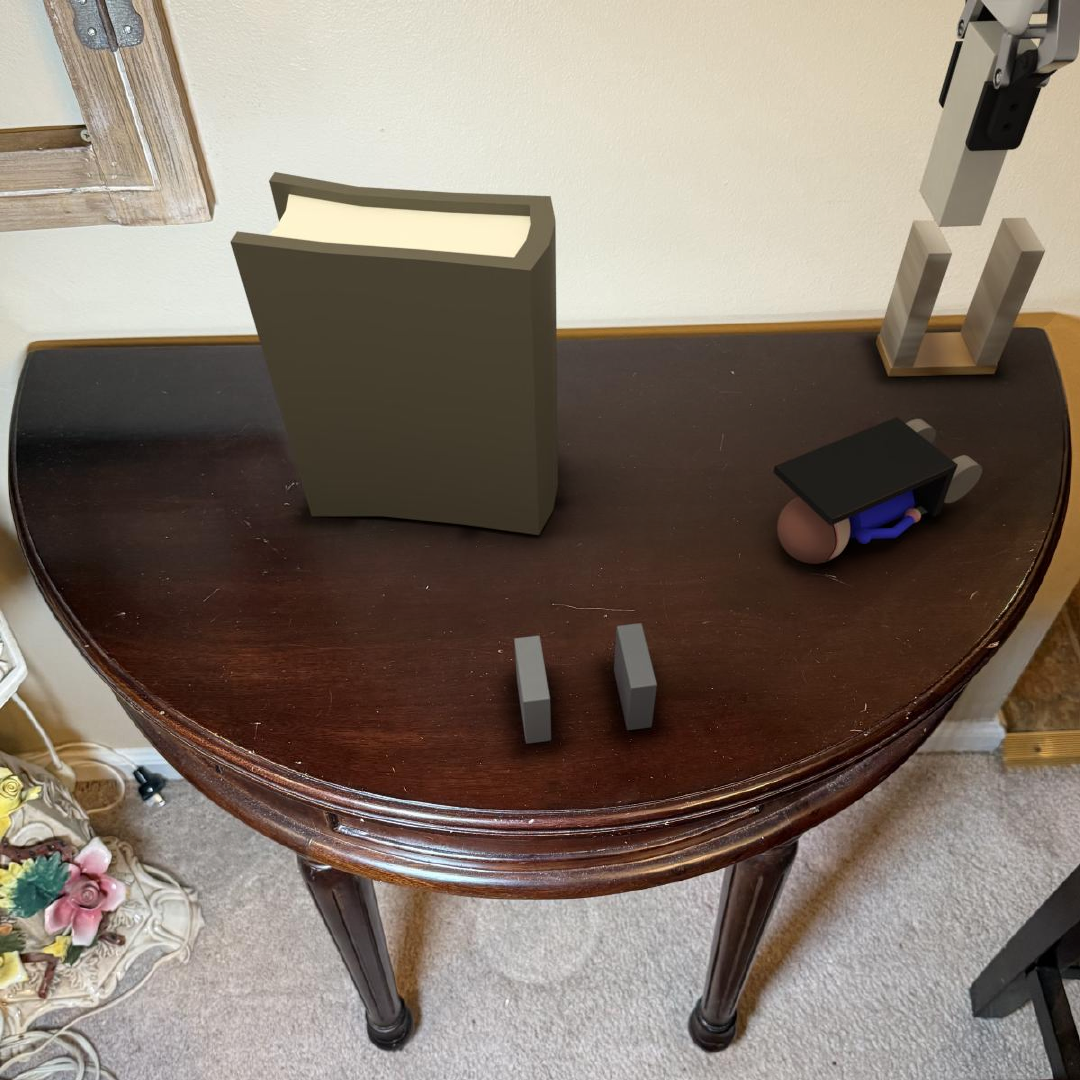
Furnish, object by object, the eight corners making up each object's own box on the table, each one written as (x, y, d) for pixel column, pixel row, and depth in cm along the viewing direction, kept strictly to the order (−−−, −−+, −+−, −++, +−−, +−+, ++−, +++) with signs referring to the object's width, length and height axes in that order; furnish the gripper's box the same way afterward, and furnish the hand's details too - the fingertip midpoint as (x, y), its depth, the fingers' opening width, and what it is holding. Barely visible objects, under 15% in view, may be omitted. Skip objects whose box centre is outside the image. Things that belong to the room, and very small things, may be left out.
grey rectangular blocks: (637, 666, 64) (641, 622, 61) (651, 727, 61) (657, 684, 58) (517, 681, 64) (513, 638, 60) (525, 744, 61) (523, 702, 57)
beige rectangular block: (959, 189, 67) (1015, 19, 58) (981, 225, 64) (1043, 52, 55) (918, 190, 67) (968, 21, 58) (938, 227, 64) (994, 54, 55)
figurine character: (895, 473, 77) (748, 532, 71) (930, 397, 72) (774, 454, 66) (958, 527, 73) (808, 595, 67) (1000, 451, 68) (841, 517, 62)
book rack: (977, 340, 86) (1026, 217, 77) (994, 374, 83) (1047, 250, 74) (875, 342, 86) (911, 220, 77) (887, 376, 83) (927, 253, 74)
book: (562, 465, 77) (561, 189, 59) (548, 540, 72) (542, 263, 54) (340, 444, 79) (274, 171, 61) (311, 516, 74) (230, 241, 56)
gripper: (1263, -196, 42) (1090, 196, 56) (1102, -280, 53) (991, 64, 67) (1088, -190, 42) (958, 201, 56) (964, -275, 53) (881, 68, 67)
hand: (977, 123), depth 61 cm, fingers closed on beige rectangular block, 4 cm apart
